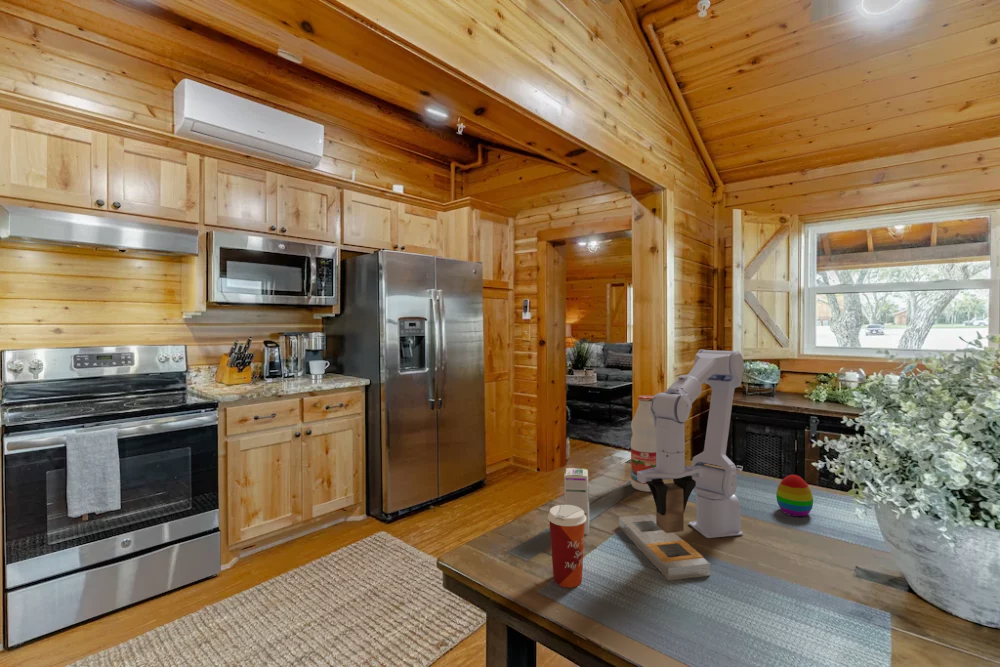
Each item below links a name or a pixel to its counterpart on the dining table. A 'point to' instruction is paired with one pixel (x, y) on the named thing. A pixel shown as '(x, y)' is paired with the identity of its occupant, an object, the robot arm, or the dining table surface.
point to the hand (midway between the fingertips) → (670, 512)
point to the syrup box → (577, 491)
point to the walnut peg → (672, 510)
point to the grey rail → (664, 548)
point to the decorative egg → (794, 496)
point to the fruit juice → (642, 442)
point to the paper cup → (567, 544)
